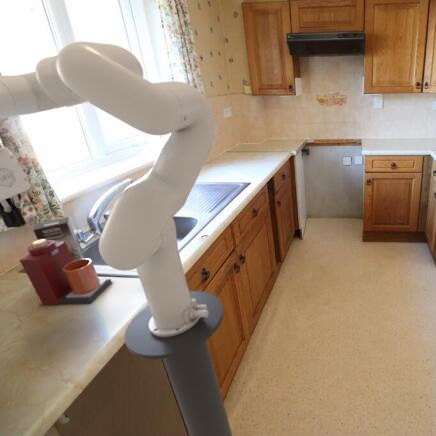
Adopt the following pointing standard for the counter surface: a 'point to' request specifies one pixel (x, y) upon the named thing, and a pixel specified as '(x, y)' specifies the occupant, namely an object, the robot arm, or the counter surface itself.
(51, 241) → the column
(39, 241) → the brew button
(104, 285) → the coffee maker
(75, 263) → the cup
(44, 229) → the coffee box
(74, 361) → the counter surface
